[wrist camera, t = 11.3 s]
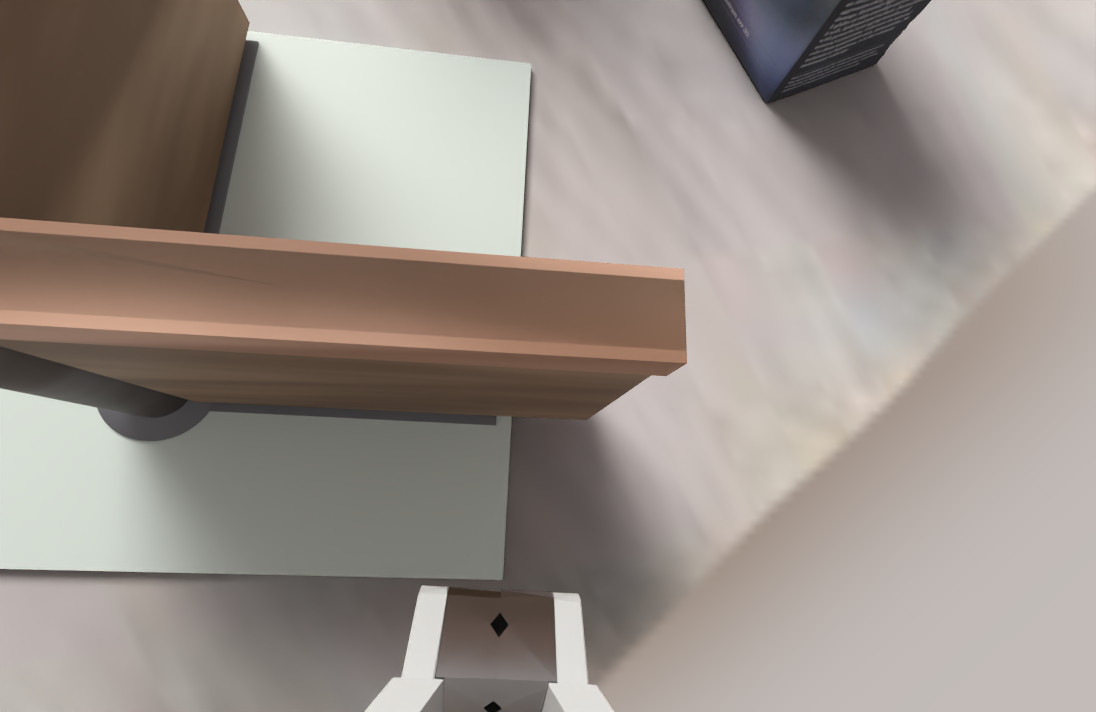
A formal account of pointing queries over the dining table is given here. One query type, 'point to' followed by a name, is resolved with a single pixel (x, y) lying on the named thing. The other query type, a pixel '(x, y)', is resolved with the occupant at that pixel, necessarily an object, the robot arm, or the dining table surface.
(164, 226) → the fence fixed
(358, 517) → the card
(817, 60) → the small box
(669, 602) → the dining table surface
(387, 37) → the dining table surface
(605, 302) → the fence panel
